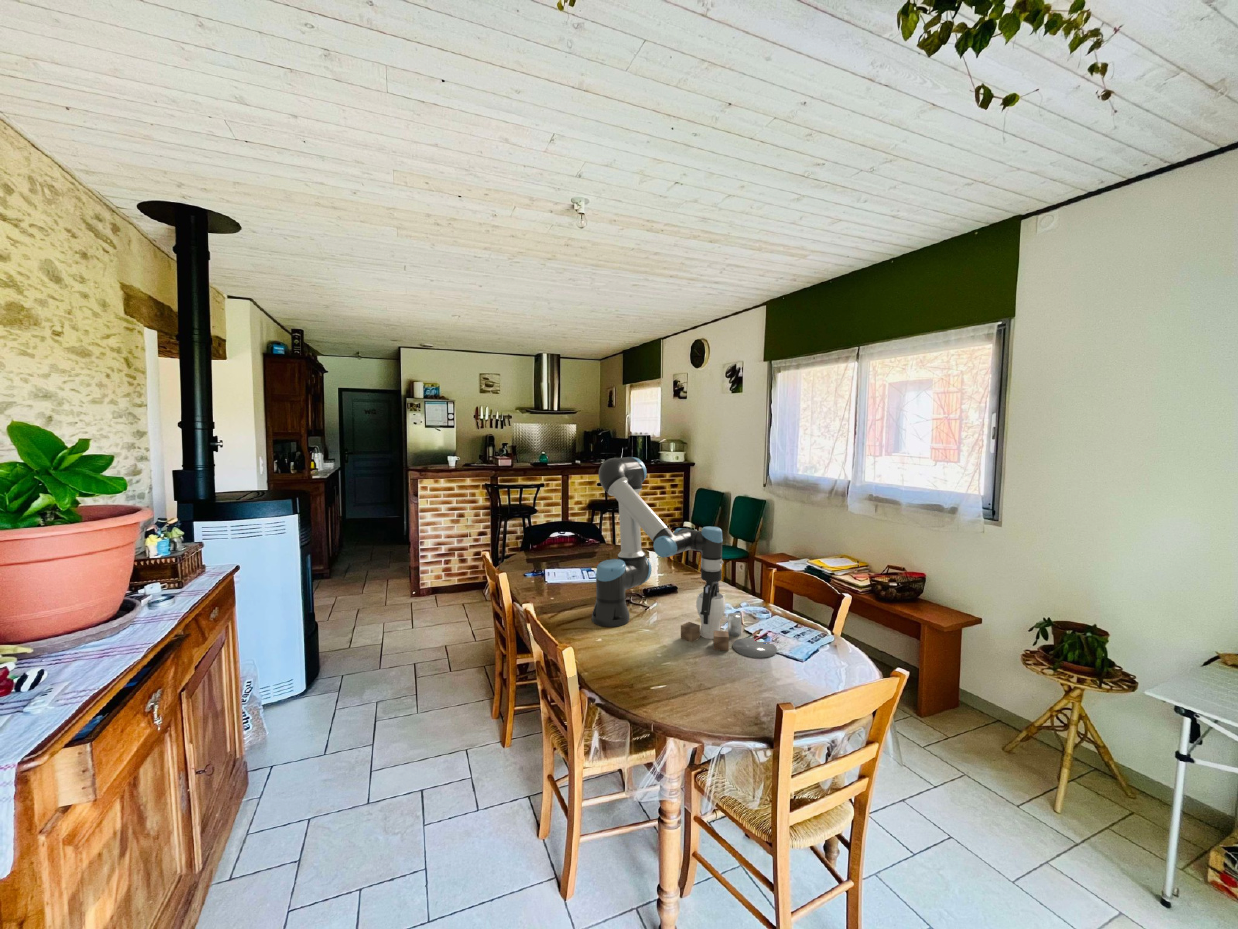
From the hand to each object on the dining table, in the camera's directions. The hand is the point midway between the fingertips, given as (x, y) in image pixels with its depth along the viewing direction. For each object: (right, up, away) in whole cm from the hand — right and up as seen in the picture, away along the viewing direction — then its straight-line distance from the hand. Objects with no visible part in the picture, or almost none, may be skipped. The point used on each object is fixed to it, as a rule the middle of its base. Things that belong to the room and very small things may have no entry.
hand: (710, 625), depth 191 cm
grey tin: (+9, -4, +2) cm, 10 cm away
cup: (0, -4, 0) cm, 4 cm away
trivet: (+14, -5, -11) cm, 18 cm away
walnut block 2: (+2, -5, -10) cm, 11 cm away
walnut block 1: (-8, -4, -3) cm, 9 cm away
